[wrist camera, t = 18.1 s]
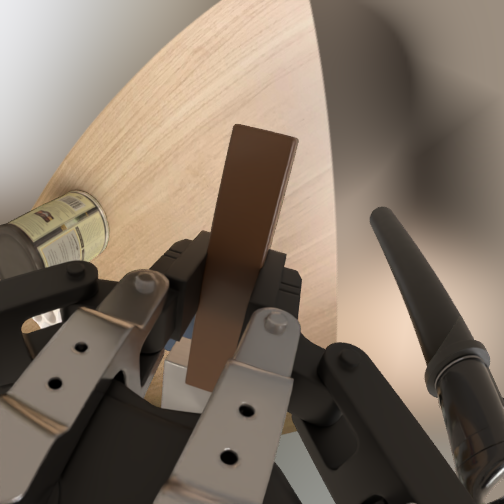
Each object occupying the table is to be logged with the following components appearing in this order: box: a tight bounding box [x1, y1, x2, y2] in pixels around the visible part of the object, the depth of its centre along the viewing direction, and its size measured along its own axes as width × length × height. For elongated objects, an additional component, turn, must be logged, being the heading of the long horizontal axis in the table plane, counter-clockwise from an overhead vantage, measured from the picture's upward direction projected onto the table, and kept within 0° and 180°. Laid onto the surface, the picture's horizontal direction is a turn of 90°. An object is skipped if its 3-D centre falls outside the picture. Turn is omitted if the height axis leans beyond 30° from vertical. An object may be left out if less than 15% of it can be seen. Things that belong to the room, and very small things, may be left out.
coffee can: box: [0, 190, 109, 280], centre depth 34 cm, size 10×10×14 cm
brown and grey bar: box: [161, 124, 299, 413], centre depth 13 cm, size 18×4×3 cm, turn 169°
